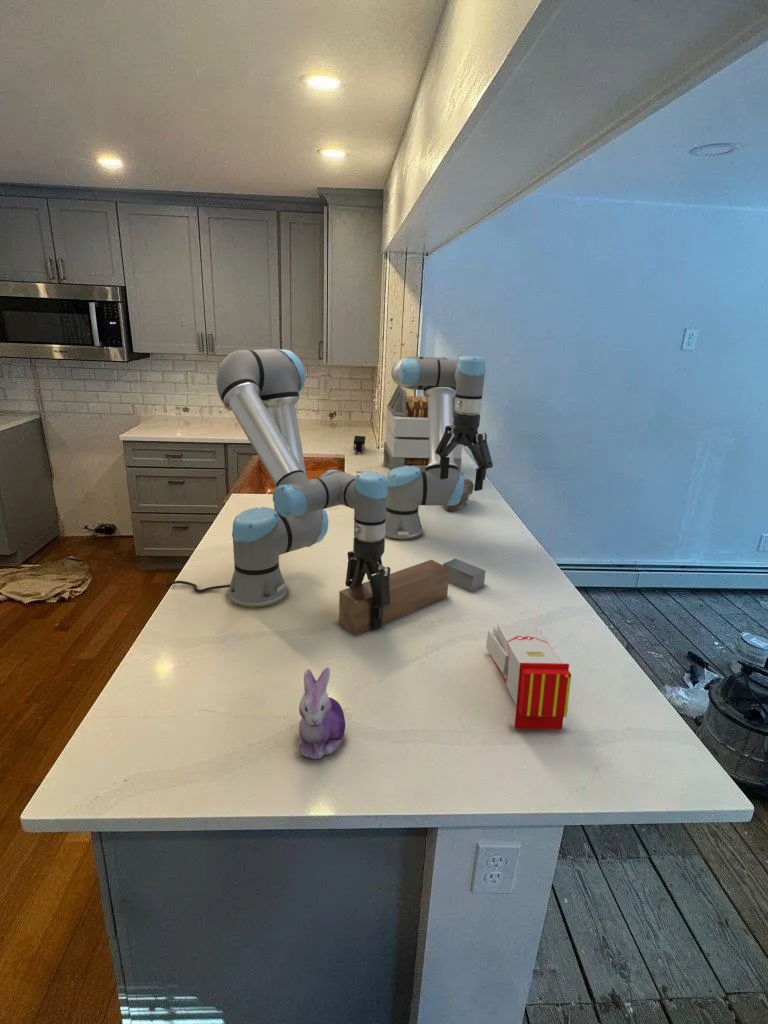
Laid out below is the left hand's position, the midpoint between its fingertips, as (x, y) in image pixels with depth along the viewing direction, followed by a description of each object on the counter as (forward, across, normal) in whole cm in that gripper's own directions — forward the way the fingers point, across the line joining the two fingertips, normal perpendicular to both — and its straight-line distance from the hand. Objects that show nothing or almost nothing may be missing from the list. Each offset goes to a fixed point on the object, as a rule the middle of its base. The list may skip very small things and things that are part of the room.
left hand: (366, 620), depth 143 cm
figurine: (0, +28, -33) cm, 43 cm away
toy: (0, +40, +10) cm, 41 cm away
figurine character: (0, -141, +109) cm, 178 cm away
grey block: (0, 0, +37) cm, 37 cm away
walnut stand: (0, 0, +10) cm, 10 cm away
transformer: (0, -92, +108) cm, 141 cm away
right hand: (-26, -10, +43) cm, 51 cm away
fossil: (0, -50, +88) cm, 101 cm away
